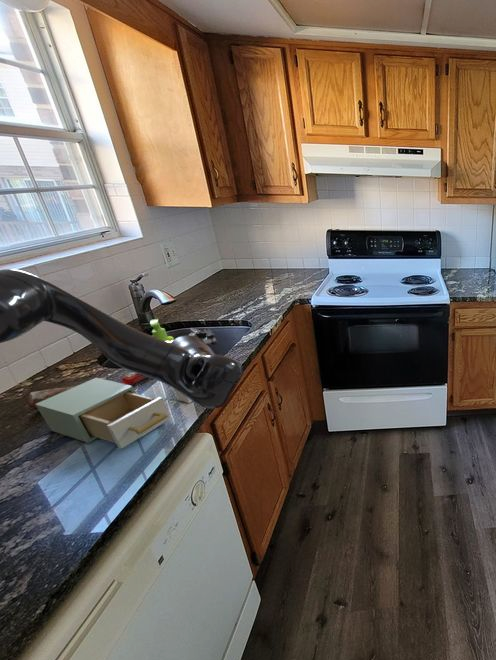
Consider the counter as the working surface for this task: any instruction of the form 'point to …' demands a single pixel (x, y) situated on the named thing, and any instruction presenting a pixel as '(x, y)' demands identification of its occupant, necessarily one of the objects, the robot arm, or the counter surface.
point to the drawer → (125, 418)
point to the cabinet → (79, 406)
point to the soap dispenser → (159, 331)
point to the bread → (44, 395)
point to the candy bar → (132, 378)
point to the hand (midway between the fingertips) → (173, 336)
